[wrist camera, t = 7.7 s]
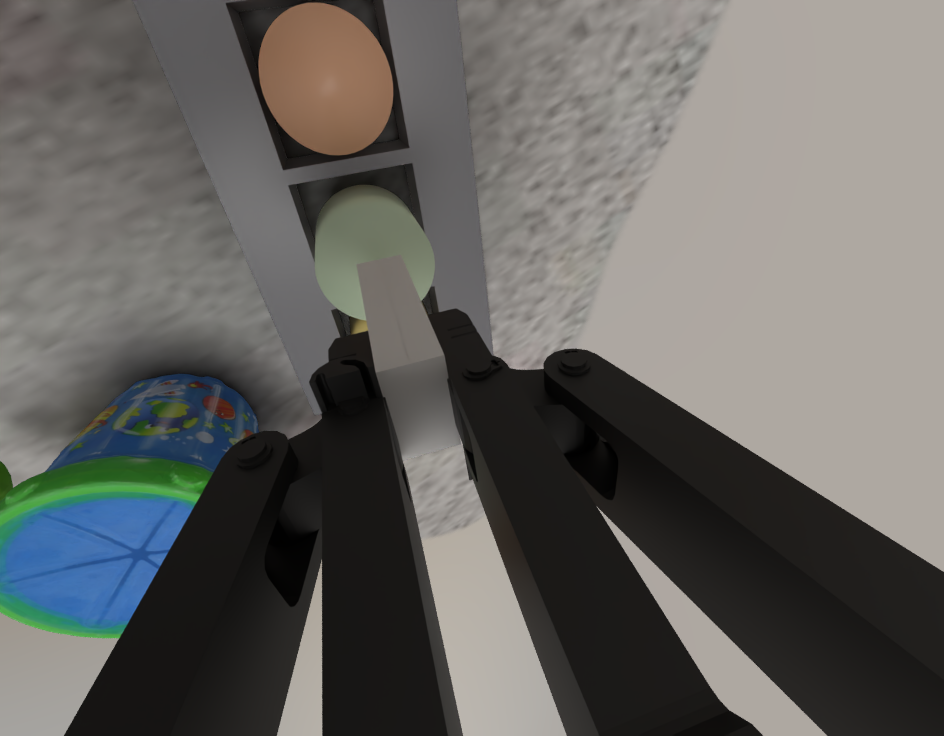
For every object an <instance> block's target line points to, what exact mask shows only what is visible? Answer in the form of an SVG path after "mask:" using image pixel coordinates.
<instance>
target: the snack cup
mask: <svg viewBox="0 0 944 736" xmlns="http://www.w3.org/2000/svg"><path fill="white" fill-rule="evenodd" d="M255 433H259V430H258V421H257V417H256V415H255V414H254V413H253V411H252V408H251V407H250V406H249V404H248V403H247V402H246V400H245V399H244V398H243V397H242V396H241V395H240V394H239V393H237V392H236V391H235V390H233V389H231V388H229V387H227V386H226V385H225V384H224V383H223V382H222V381H221V380H218V379H215V378H212V377H209V376H206V377H197V376H193V375H190V374H174V375H166V376H160V377H157V378H152V379H146V380H142V381H138V382H136V383H135V384H133V385H132V386H131V387H130V388H129V389H128V390H126V391H125V392H123V393H122V394H121V395H119V396H118V397H116V398H115V399H114V400H113V401H112V402H111V403H110V404H109V405H108V406H107V407H106V408H105V409H104V410H103V411H102V412H101V413H100V414H99V415H98V416H97V417H96V418H95V419H94V420H93V421H92V422H91V423H90V424H89V425H88V426H87V427H86V428H85V429H84V430H83V431H82V432H81V433H80V434H79V435H78V436H77V437H76V438H75V439H74V440H73V441H72V442H71V443H70V444H69V445H68V446H67V447H66V448H65V449H64V450H63V451H62V452H61V453H60V455H59V456H58V457H57V458H56V459H55V460H54V461H53V463H52V465H51V466H50V467H49V468H48V469H47V470H46V471H45V472H44V473H41V474H39V475H36V476H34V477H32V478H29V479H27V480H26V481H23V482H21V483H20V484H18V485H17V486H15V487H14V488H13V484H12V480H11V475H10V474H9V472H8V470H7V468H6V467H5V465H4V464H3V463H2V462H1V461H0V612H1V613H3V614H4V615H6V616H8V617H10V618H11V619H14V620H16V621H18V622H21V623H23V624H26V625H29V626H32V627H35V628H38V629H42V630H46V631H49V632H54V633H60V634H67V635H73V636H80V637H93V638H120V636H121V634H122V633H123V631H124V629H125V627H126V626H127V624H128V622H129V620H130V619H131V617H132V615H133V613H134V612H135V610H136V608H137V606H138V605H139V603H140V601H141V599H142V597H143V596H144V594H145V592H146V590H147V589H148V587H149V585H150V583H151V582H152V580H153V578H154V576H155V575H156V573H157V571H158V569H159V568H160V566H161V564H162V562H163V560H164V559H165V557H166V555H167V553H168V552H169V550H170V548H171V546H172V545H173V543H174V541H175V539H176V538H177V536H178V534H179V532H180V531H181V529H182V527H183V525H184V523H185V522H186V520H187V518H188V516H189V515H190V513H191V511H192V509H193V508H194V506H195V504H196V502H197V501H198V499H199V497H200V495H201V494H202V492H203V490H204V488H205V487H206V485H207V483H208V481H209V479H210V478H211V476H212V474H213V472H214V471H215V469H216V467H217V465H218V464H219V462H220V460H221V458H222V457H223V456H224V455H225V453H226V452H227V451H228V450H229V448H231V447H232V446H233V445H235V444H236V443H237V442H239V441H240V440H242V439H244V438H246V437H248V436H250V435H252V434H255Z"/></svg>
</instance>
